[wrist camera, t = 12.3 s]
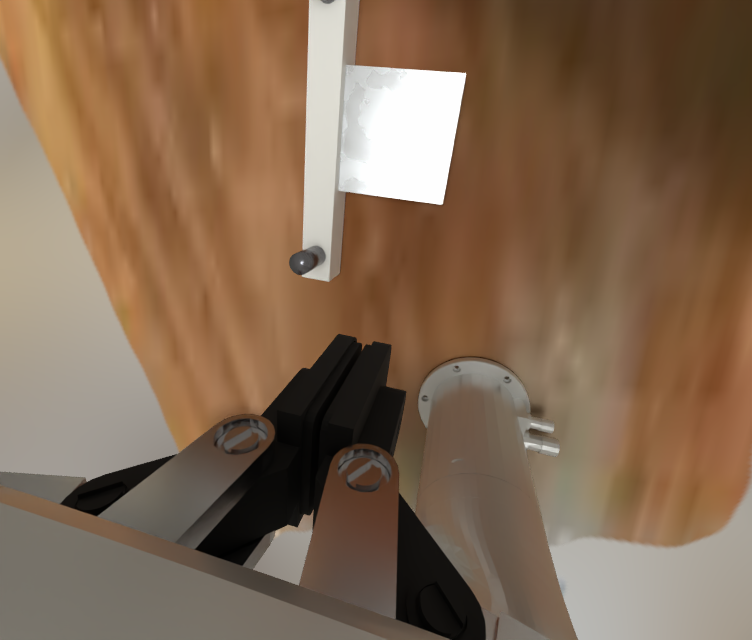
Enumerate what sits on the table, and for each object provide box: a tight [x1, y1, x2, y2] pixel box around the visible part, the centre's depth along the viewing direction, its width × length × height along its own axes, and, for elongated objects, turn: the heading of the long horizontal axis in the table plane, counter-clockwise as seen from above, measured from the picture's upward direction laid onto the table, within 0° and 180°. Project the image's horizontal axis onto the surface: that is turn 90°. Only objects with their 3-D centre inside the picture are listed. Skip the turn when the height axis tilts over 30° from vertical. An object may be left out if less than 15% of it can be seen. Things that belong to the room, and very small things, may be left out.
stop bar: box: [289, 0, 360, 282], centre depth 31 cm, size 3×26×8 cm, turn 173°
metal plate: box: [338, 65, 466, 205], centre depth 32 cm, size 10×10×3 cm
